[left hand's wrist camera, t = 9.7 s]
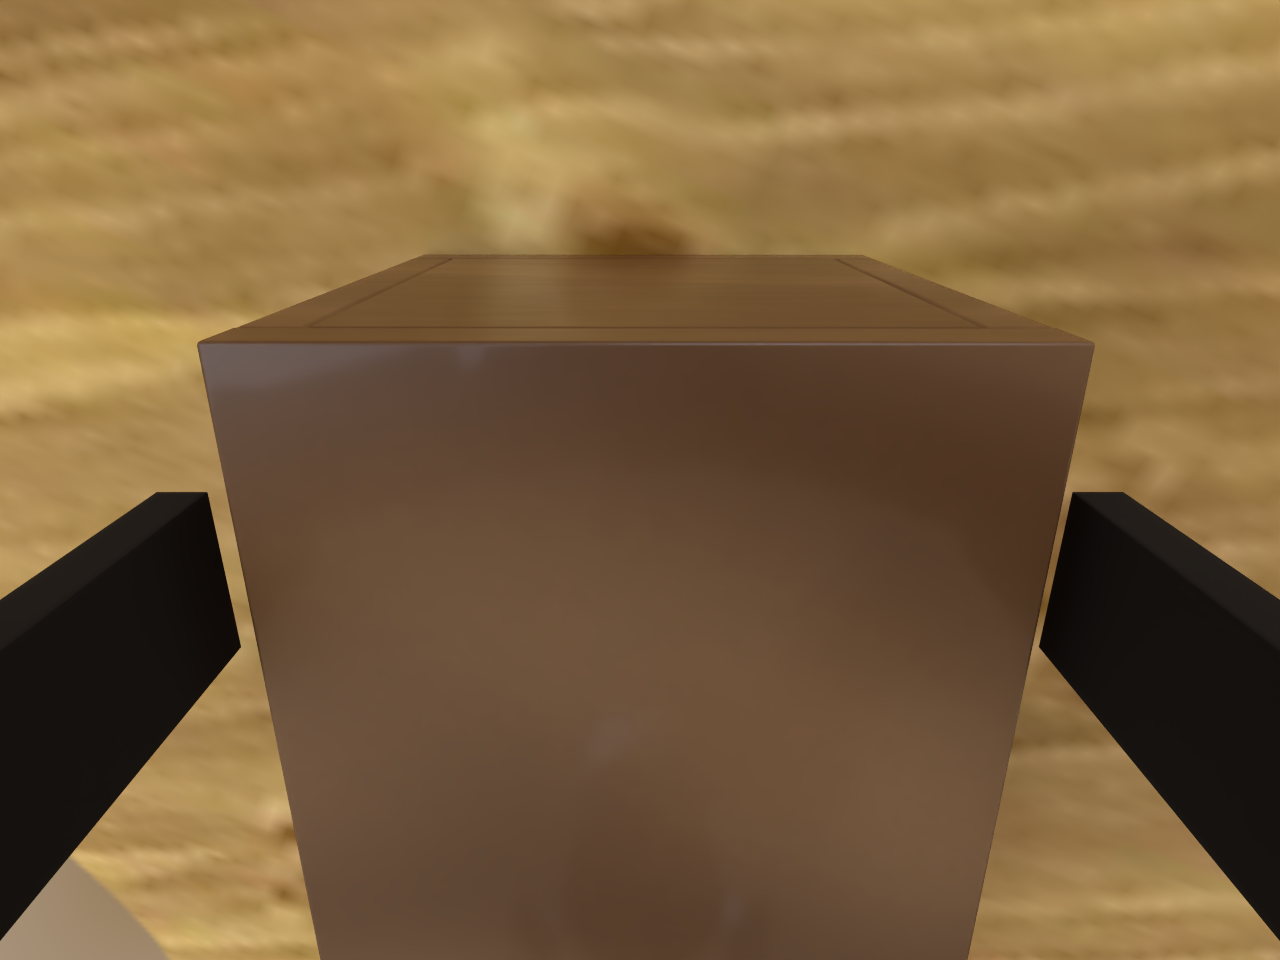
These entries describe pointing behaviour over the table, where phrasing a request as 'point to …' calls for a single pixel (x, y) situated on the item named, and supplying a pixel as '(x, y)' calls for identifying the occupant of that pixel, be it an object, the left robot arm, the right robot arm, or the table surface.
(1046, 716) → the table surface
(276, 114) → the table surface
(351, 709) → the cabinet
